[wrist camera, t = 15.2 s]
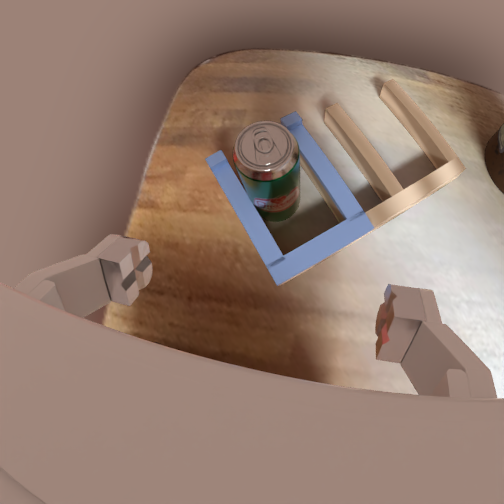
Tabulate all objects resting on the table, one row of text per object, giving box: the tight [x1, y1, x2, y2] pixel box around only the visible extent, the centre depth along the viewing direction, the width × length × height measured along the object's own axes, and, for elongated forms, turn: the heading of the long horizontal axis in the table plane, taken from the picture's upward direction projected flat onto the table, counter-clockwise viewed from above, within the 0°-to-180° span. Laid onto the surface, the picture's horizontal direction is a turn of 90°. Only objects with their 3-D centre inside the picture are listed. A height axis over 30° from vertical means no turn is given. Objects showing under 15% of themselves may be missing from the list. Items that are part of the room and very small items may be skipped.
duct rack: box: [279, 79, 466, 286], centre depth 32 cm, size 24×14×3 cm, turn 119°
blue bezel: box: [205, 111, 374, 286], centre depth 30 cm, size 10×14×2 cm
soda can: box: [233, 121, 300, 222], centre depth 28 cm, size 5×5×12 cm
